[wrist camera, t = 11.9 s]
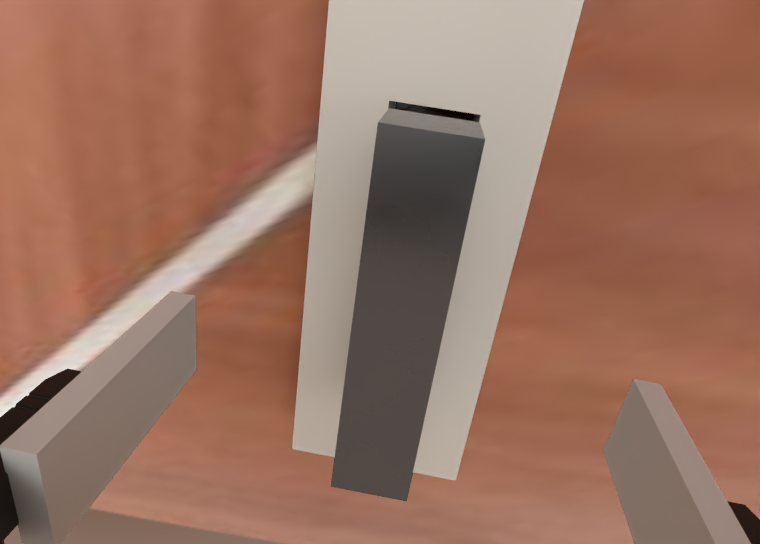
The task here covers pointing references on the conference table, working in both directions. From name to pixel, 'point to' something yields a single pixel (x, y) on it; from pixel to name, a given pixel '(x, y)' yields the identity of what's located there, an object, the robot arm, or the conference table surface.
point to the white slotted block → (490, 199)
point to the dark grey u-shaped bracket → (403, 293)
